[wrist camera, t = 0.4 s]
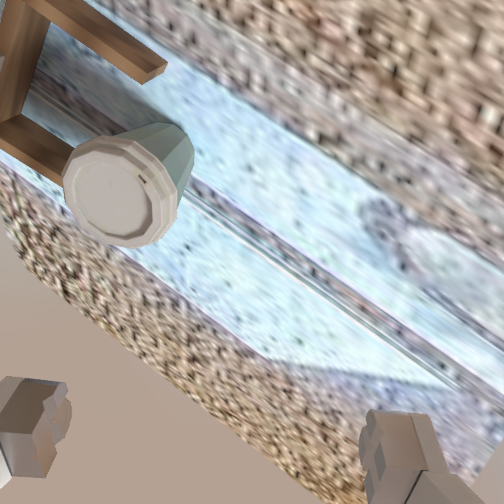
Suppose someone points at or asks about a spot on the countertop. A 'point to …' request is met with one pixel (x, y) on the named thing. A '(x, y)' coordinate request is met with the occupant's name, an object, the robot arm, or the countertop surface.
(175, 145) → the disposable coffee cup
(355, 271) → the countertop surface
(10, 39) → the dock cradle
